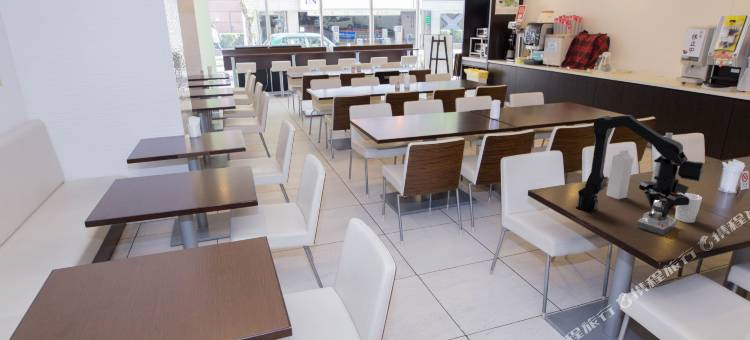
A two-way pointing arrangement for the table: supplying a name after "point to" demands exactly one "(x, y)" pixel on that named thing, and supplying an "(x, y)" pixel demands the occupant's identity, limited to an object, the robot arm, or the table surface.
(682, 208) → the white cup
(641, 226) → the camera body
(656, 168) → the bottle
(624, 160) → the milk
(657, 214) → the lens
